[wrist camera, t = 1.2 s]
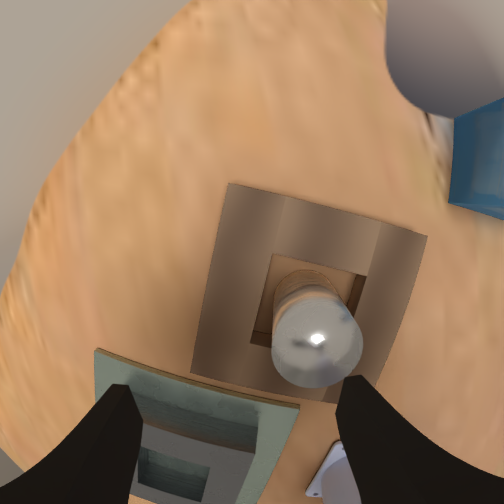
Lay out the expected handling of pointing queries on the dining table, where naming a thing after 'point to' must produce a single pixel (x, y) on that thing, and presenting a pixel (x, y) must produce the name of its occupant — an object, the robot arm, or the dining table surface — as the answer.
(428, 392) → the dining table surface
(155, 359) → the dining table surface
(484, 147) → the perfume bottle
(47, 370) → the dining table surface
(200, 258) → the dining table surface
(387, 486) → the robot arm
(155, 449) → the metal hub block
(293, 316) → the steel peg
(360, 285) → the walnut stand
